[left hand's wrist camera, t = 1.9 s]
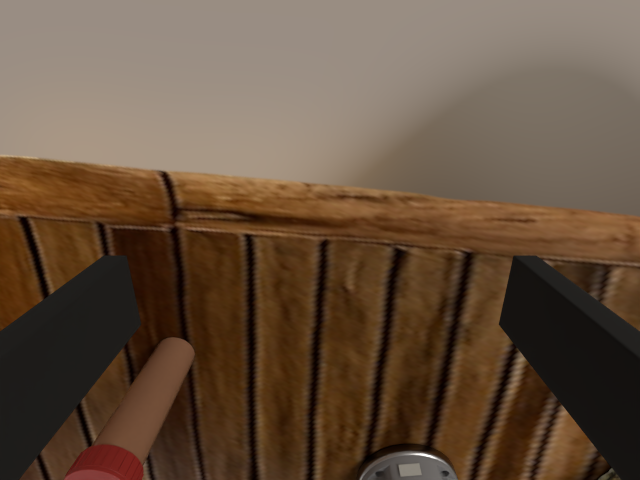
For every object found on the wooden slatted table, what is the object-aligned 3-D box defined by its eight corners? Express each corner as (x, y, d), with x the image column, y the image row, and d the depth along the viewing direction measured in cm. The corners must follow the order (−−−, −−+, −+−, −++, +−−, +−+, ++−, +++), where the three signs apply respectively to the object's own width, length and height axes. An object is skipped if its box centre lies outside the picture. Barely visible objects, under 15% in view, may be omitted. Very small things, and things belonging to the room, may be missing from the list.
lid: (64, 463, 33) (45, 489, 31) (107, 433, 32) (91, 458, 29) (114, 497, 35) (101, 524, 32) (157, 471, 33) (146, 497, 31)
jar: (148, 350, 48) (56, 484, 31) (175, 330, 47) (95, 459, 30) (176, 374, 49) (103, 515, 33) (202, 355, 48) (141, 491, 31)
